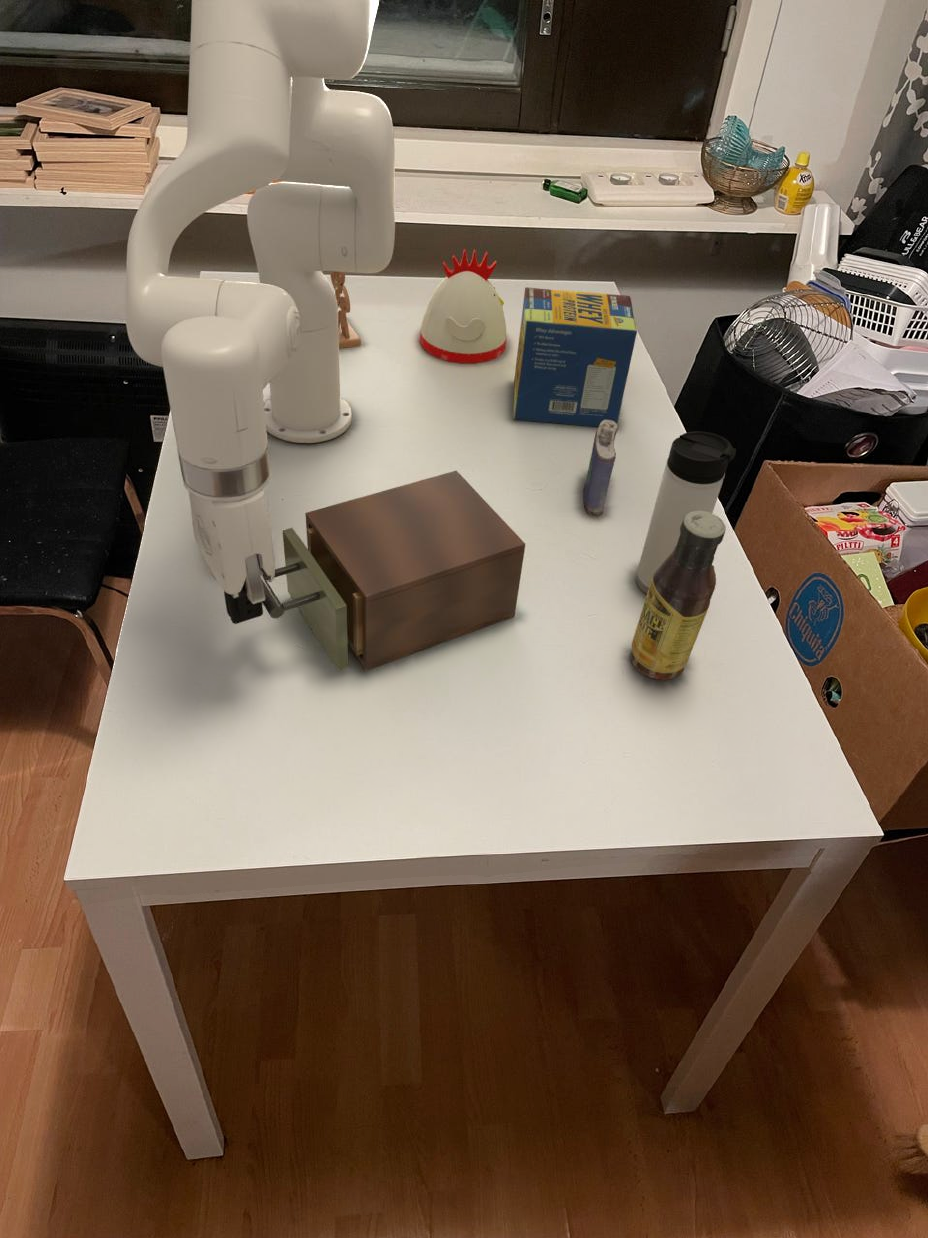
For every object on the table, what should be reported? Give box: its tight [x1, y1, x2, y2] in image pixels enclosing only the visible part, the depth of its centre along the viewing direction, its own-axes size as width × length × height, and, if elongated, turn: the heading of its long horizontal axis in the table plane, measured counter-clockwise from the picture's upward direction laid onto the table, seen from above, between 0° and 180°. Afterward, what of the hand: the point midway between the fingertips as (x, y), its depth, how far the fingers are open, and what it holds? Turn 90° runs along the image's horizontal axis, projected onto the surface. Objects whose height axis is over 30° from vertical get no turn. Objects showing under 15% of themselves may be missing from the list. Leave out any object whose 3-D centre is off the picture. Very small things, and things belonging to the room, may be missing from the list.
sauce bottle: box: [630, 511, 726, 681], centre depth 93 cm, size 6×6×20 cm
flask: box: [582, 420, 619, 516], centre depth 118 cm, size 9×3×11 cm, turn 172°
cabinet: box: [305, 470, 526, 671], centre depth 101 cm, size 19×15×11 cm
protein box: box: [512, 287, 638, 428], centre depth 132 cm, size 10×15×16 cm
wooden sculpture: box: [329, 271, 362, 349], centre depth 144 cm, size 9×4×12 cm, turn 25°
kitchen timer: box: [419, 248, 507, 364], centre depth 144 cm, size 14×14×15 cm
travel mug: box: [635, 431, 737, 595], centre depth 103 cm, size 6×7×20 cm
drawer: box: [260, 527, 363, 671], centre depth 98 cm, size 23×13×9 cm, turn 121°
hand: (245, 614), depth 93 cm, fingers closed
